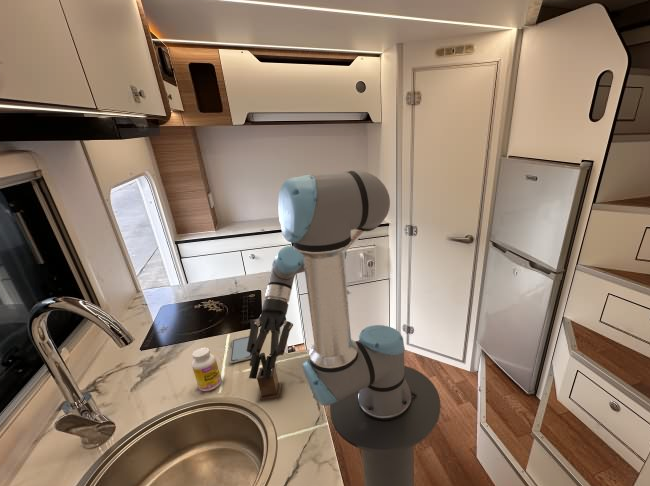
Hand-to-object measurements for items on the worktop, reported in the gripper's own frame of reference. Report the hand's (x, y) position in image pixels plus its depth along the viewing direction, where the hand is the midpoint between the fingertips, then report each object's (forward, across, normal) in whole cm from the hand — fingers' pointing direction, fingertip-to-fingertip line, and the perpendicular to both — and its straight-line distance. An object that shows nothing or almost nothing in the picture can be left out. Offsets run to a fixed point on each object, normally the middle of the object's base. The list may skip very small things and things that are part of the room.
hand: (259, 378), depth 91 cm
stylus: (+3, 0, -8) cm, 9 cm away
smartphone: (-10, +22, -22) cm, 33 cm away
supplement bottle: (+3, +22, -10) cm, 24 cm away
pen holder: (+3, 0, -9) cm, 10 cm away
